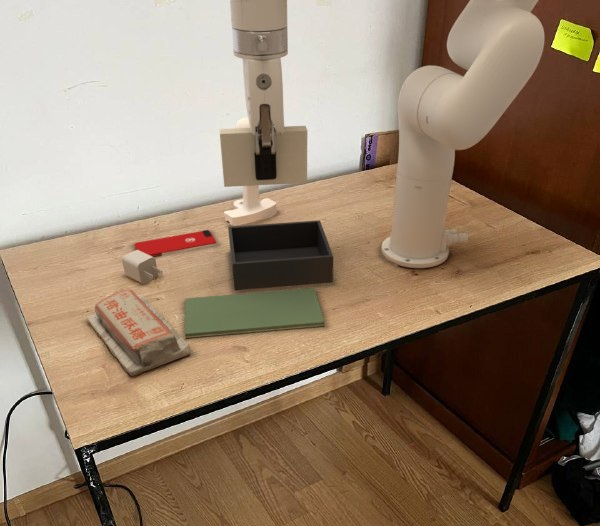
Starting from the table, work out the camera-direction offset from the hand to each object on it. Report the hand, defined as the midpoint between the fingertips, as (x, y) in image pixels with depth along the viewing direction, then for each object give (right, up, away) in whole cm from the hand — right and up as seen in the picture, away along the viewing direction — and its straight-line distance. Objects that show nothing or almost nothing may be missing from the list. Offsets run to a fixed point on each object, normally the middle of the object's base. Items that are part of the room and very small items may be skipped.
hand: (265, 174), depth 96 cm
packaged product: (-20, -26, +1) cm, 33 cm away
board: (0, -1, +1) cm, 1 cm away
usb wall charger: (-22, -14, +14) cm, 30 cm away
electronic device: (-19, -5, +24) cm, 31 cm away
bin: (+2, -11, +17) cm, 20 cm away
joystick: (-5, +3, +33) cm, 34 cm away
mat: (-2, -21, +5) cm, 22 cm away
